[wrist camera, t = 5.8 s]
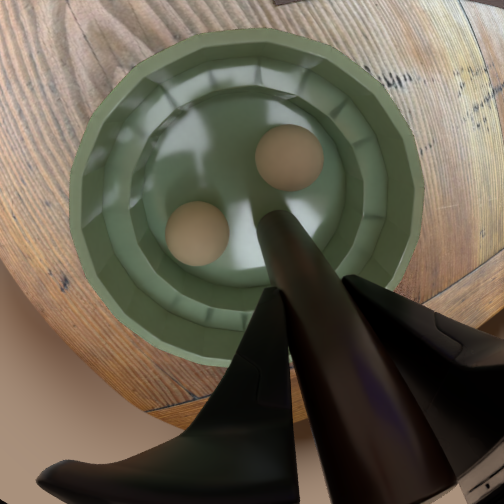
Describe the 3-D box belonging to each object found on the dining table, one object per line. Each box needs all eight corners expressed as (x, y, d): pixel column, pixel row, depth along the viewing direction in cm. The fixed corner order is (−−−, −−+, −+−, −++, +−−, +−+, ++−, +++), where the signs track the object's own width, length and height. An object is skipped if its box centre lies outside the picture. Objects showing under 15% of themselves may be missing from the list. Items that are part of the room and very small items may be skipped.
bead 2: (314, 180, 14) (334, 196, 12) (255, 186, 14) (262, 203, 11) (310, 122, 13) (331, 123, 10) (249, 126, 13) (255, 127, 10)
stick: (300, 247, 15) (430, 504, 3) (258, 253, 15) (331, 542, 3) (298, 206, 14) (481, 467, 2) (253, 212, 14) (353, 530, 2)
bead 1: (232, 245, 15) (234, 273, 13) (177, 252, 15) (168, 281, 13) (224, 190, 14) (224, 207, 11) (165, 199, 14) (152, 218, 11)
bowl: (364, 289, 18) (398, 339, 14) (148, 318, 18) (132, 376, 13) (365, 59, 12) (419, 43, 7) (94, 88, 11) (41, 81, 7)
